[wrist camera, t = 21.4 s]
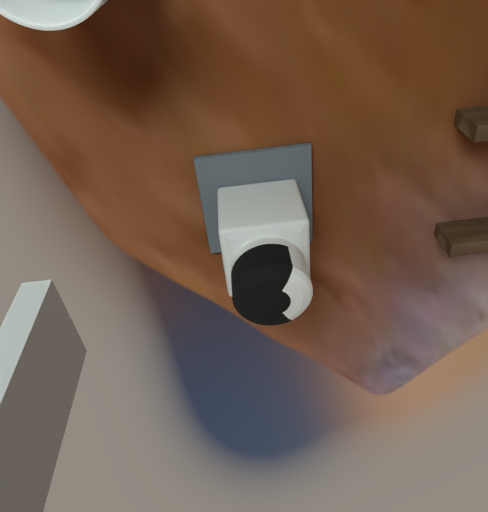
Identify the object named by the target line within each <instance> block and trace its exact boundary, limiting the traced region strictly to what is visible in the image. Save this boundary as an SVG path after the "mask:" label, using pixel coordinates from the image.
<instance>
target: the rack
mask: <svg viewBox="0 0 488 512" xmlns="http://www.w3.org/2000/svg"><path fill="white" fill-rule="evenodd" d="M455 126H456V127H457V128H458V129H459V130H461V131H462V132H463V133H464V134H465V135H466V136H467V137H468V138H470V139H471V140H472V141H473V142H483V141H488V106H480V107H472V108H464V109H457V114H456V119H455ZM434 235H435V237H436V238H437V239H438V241H439V242H440V244H441V245H442V247H443V248H444V250H445V251H446V252H447V254H448V255H449V257H452V256H460V255H469V254H477V253H486V252H488V217H486V218H477V219H469V220H460V221H452V222H443V223H436V228H435V233H434Z"/></svg>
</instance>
